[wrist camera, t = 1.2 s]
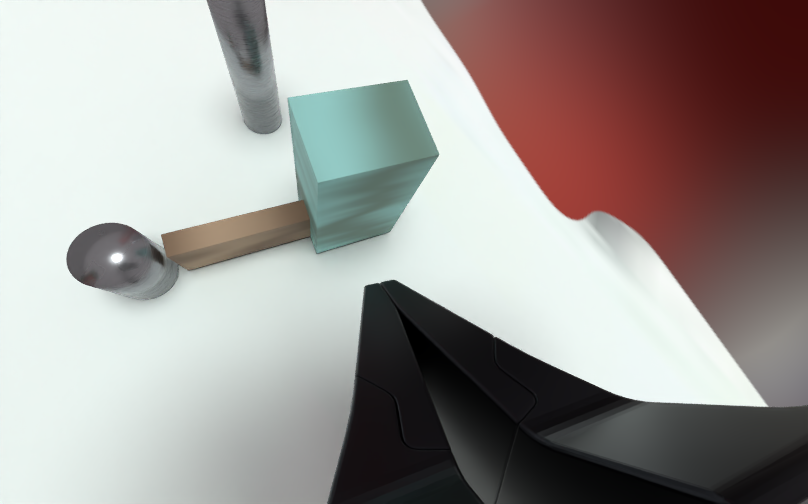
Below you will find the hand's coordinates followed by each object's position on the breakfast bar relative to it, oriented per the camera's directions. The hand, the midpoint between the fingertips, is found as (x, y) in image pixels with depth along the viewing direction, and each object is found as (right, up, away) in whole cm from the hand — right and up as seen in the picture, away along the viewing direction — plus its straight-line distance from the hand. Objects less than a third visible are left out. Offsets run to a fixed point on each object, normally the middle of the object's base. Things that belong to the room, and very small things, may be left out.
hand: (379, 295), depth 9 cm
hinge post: (-14, 0, +10) cm, 17 cm away
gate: (-6, +2, +12) cm, 14 cm away
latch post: (-9, +10, +14) cm, 20 cm away
